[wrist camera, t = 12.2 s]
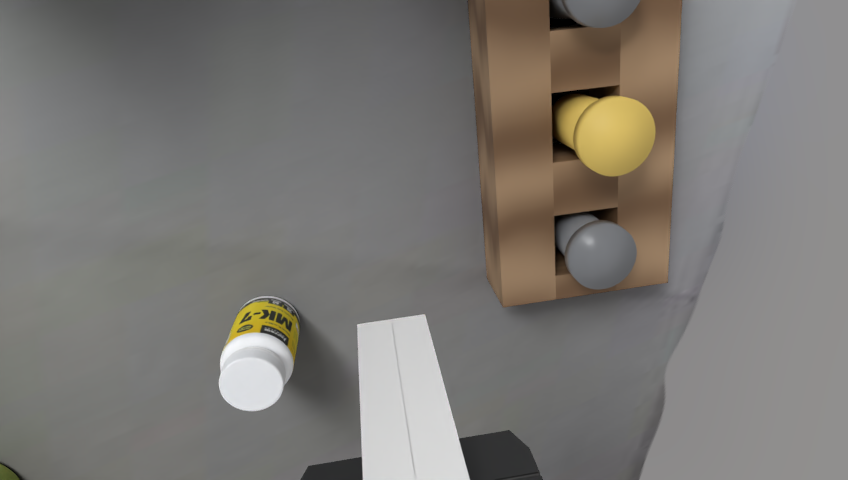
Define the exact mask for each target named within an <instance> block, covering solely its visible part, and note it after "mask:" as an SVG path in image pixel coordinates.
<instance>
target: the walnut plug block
mask: <svg viewBox="0 0 848 480" xmlns="http://www.w3.org/2000/svg"><path fill="white" fill-rule="evenodd" d="M468 10H469V25H470V39H471V53H472V68H473V82H474V97H475V111H476V126H477V140H478V155H479V169H480V184H481V198H482V213H483V227H484V242H485V256H486V271H487V279H488V281H489V283H490V285H491V286H492V288H493V290H494V292H495V294H496V295H497V297H498V299H499V301H500V303H501V304H502V306H503V307H509V306H516V305H522V304H529V303H535V302H542V301H549V300H555V299H562V298H569V297H575V296H582V295H589V294H595V293H602V292H609V291H615V290H622V289H628V288H635V287H642V286H648V285H655V284H662V283H668V265H669V246H670V226H671V207H672V187H673V168H674V149H675V129H676V110H677V91H678V71H679V52H680V33H681V13H682V0H640V2H639V4H638V6H637V7H636V9H635V10H634V11H633V13H632V14H631V15H630V16H629V17H628V18H626V19H625V20H624V21H622V22H621V23H619V24H617V25H614V26H611V27H606V28H591V27H586V26H583V25H571V26H562V27H553V28H550V20H549V0H468ZM582 89H589V96H590V97H594V98H597V99H601V98H603V97H607V96H615V95H616V96H623V97H627V98H631V99H634V100H637V101H639V102H640V103H642V104H643V105H644V106H646V108H647V109H648V110H649V111H650V113H651V115H652V117H653V119H654V123H655V140H654V144H653V147H652V149H651V151H650V153H649V155H648V157H647V158H646V159H645V161H644V162H643V163H642V164H641V165H640V166H638V167H637V168H636V169H634V170H633V171H631V172H629V173H627V174H624V175H620V176H604V175H601V174H598V173H597V172H595V171H593V170H591V169H590V168H588V167H587V166H585V165H584V164H583V163H582V162H581V161H580V159H579V158H578V156H577V154H576V152H575V150H574V149H572V148H570V147H568V146H566V145H565V144H555V145H552V105H551V93H557V92H565V91H573V90H582ZM586 211H589V212H590V213H591V214H592V215H593V216H595V217H596V218H597V219H599V220H607V221H611V222H614V223H616V224H618V225H619V226H621V227H622V228H623V229H625V230H626V231H627V232H629V233H630V234H631V236H632V237H633V239H634V241H635V244H636V248H637V256H636V261H635V264H634V266H633V268H632V270H631V272H630V273H629V274H628V276H627V277H626V278H625V279H624V280H622V281H621V282H620V283H618V284H616V285H615V286H612V287H610V288H606V289H590V288H587V287H585V286H583V285H581V284H580V283H579V282H578V281H577V280H576V279H575V278H574V277H573V276H572V275H571V273H570V272H569V271H568V269H567V267H566V264H565V256H564V255H563V254H562V253H561V252H560V251H559V250H558V249H557V248H556V247H555V234H554V216H557V215H564V214H572V213H579V212H586Z"/></svg>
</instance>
